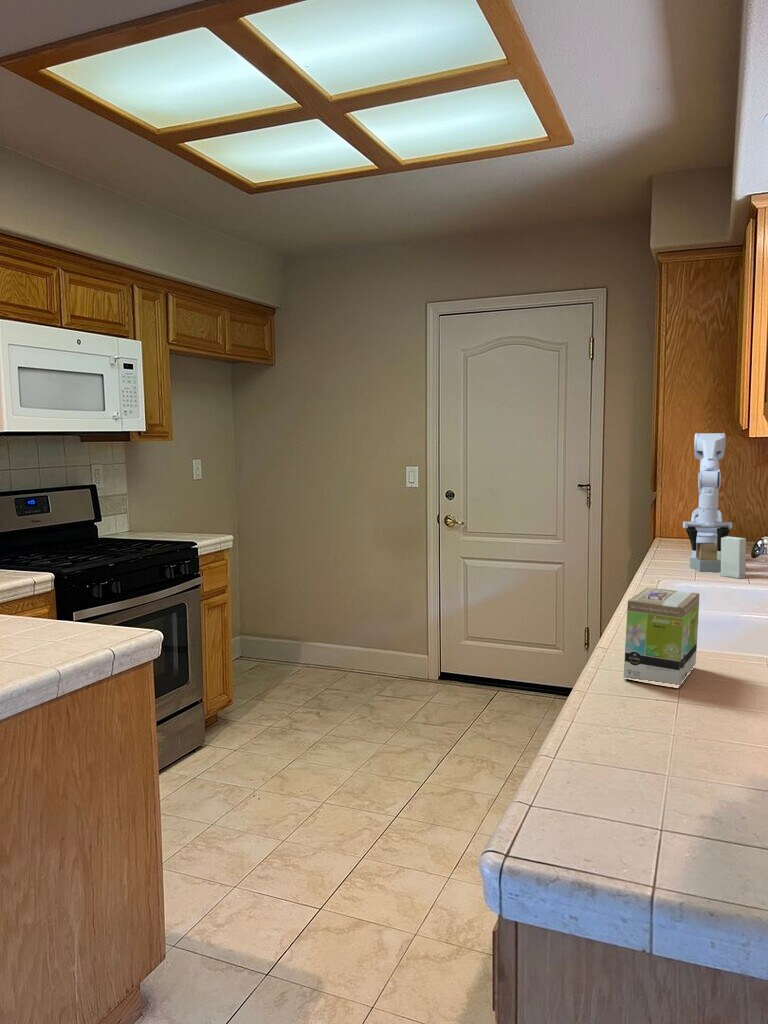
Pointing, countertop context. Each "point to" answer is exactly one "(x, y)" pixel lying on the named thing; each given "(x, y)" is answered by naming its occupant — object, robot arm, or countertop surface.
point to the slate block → (705, 565)
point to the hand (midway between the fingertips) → (706, 550)
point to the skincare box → (733, 557)
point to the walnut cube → (706, 551)
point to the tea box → (661, 635)
